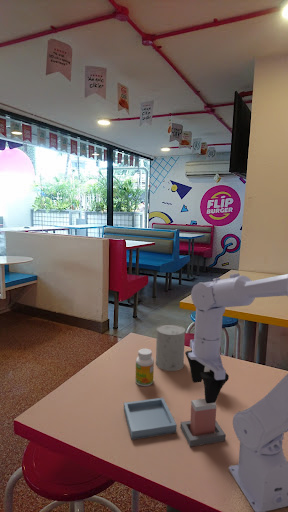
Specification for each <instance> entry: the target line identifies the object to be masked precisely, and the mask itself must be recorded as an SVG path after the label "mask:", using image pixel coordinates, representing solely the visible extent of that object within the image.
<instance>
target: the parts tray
mask: <svg viewBox="0 0 288 512" xmlns="http://www.w3.org/2000/svg"><path fill="white" fill-rule="evenodd" d="M123 412H124V416H125V421H126V423H127V428H128V432H129V435H130V438H131V441H132V440H140V439H145V438H151V437H159V436H163V435H164V436H165V435H169V434H176V433H177V429H178V428H177V427H178V425H177V423H176V421H175V418H174V417H173V414H172V413H171V410H170V408H169V407H168V404H167V403H166V400H165V399H164V397H157V398H150V399H144V400H141V399H140V400H134V401H127V402H123Z"/></svg>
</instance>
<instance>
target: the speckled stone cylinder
mask: <svg viewBox="0 0 288 512" xmlns="http://www.w3.org/2000/svg"><path fill="white" fill-rule="evenodd" d="M185 336H186V328H185V327H184V326H181V325H179V324H175V323H174V324H173V323H165V324H161V325H158V326H157V327H156V341H155V342H156V343H155V345H156V346H155V347H156V348H155V366H156V367H157V368H158V369H160V370H162V371H167V372H176V371H179V370H182V369H183V368H184V366H185V363H184V362H185V360H184V359H185V339H186V337H185Z"/></svg>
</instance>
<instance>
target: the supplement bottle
mask: <svg viewBox="0 0 288 512" xmlns="http://www.w3.org/2000/svg"><path fill="white" fill-rule="evenodd" d="M137 352H138V353H137V355H138V356H137V357H136V360H135V383H136V384H137V385H138V386H141V387H148V386H151V385H152V384H153V383H154V366H155V365H154V364H155V363H154V362H155V360H154V358H153V357H152V356H153V353H152V350H151V349H150V348H141V349H139V350H138V351H137Z"/></svg>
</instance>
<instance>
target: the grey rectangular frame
mask: <svg viewBox="0 0 288 512" xmlns="http://www.w3.org/2000/svg"><path fill="white" fill-rule="evenodd" d="M190 422H191V420H186V421H181V422H180V427H179V428H180V430H181V432H182V434H183V436H184V438H185V440H186V442H187V444H188V446H189V447H197V446H204V445H208V444H214V443H220V442H225V441H226V433H225V431H224V430H223V428H222V427H221V425H220V424H219V423H218V422H217V420H216V421H215V433H212V434H206V435H199V436H192V434H191V432H190Z"/></svg>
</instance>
